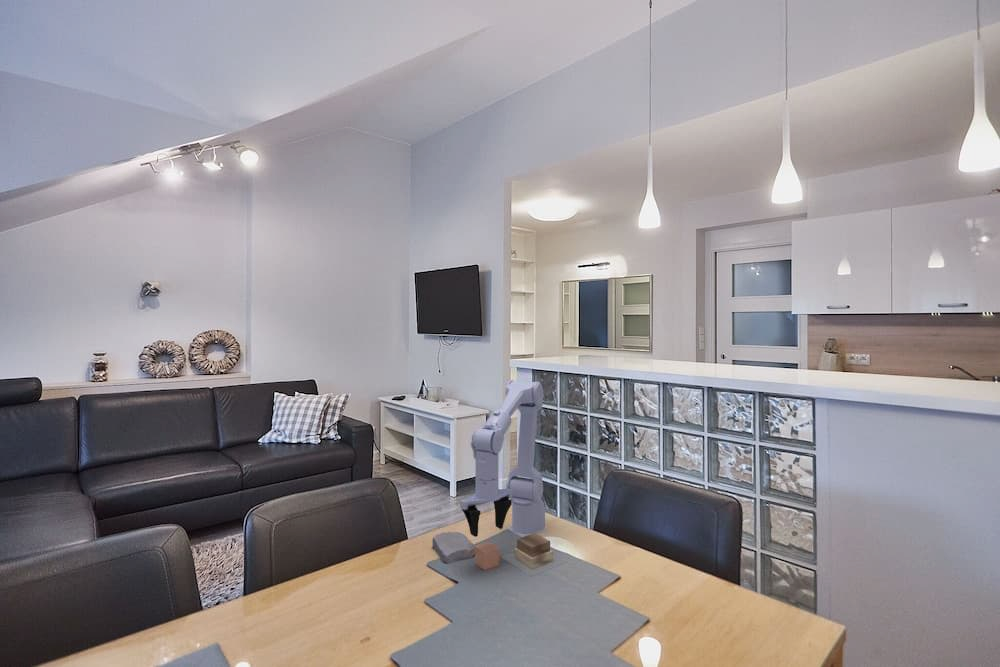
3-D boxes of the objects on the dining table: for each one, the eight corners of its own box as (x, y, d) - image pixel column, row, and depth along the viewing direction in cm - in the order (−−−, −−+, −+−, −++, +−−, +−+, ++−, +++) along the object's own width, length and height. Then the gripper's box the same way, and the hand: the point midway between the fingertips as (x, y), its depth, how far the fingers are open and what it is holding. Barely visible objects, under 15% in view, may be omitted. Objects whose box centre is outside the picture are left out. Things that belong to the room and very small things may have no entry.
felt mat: (536, 546, 135) (536, 544, 135) (567, 564, 125) (567, 561, 125) (500, 559, 128) (500, 556, 128) (530, 578, 118) (530, 576, 118)
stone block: (462, 547, 138) (428, 547, 134) (465, 530, 139) (431, 529, 134) (478, 568, 128) (441, 568, 124) (481, 549, 128) (445, 549, 124)
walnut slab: (534, 542, 130) (534, 533, 130) (550, 550, 126) (550, 541, 125) (517, 548, 127) (517, 538, 127) (532, 557, 122) (532, 547, 122)
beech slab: (535, 550, 131) (535, 541, 131) (552, 560, 125) (553, 551, 125) (514, 557, 127) (514, 548, 127) (531, 568, 121) (531, 558, 121)
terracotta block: (489, 560, 127) (489, 541, 127) (499, 567, 123) (499, 547, 123) (474, 565, 124) (474, 546, 124) (484, 573, 121) (484, 552, 121)
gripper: (500, 468, 131) (500, 519, 131) (453, 478, 122) (453, 533, 123) (517, 475, 125) (517, 528, 125) (469, 486, 117) (469, 543, 117)
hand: (486, 531), depth 124 cm, fingers open, 7 cm apart
